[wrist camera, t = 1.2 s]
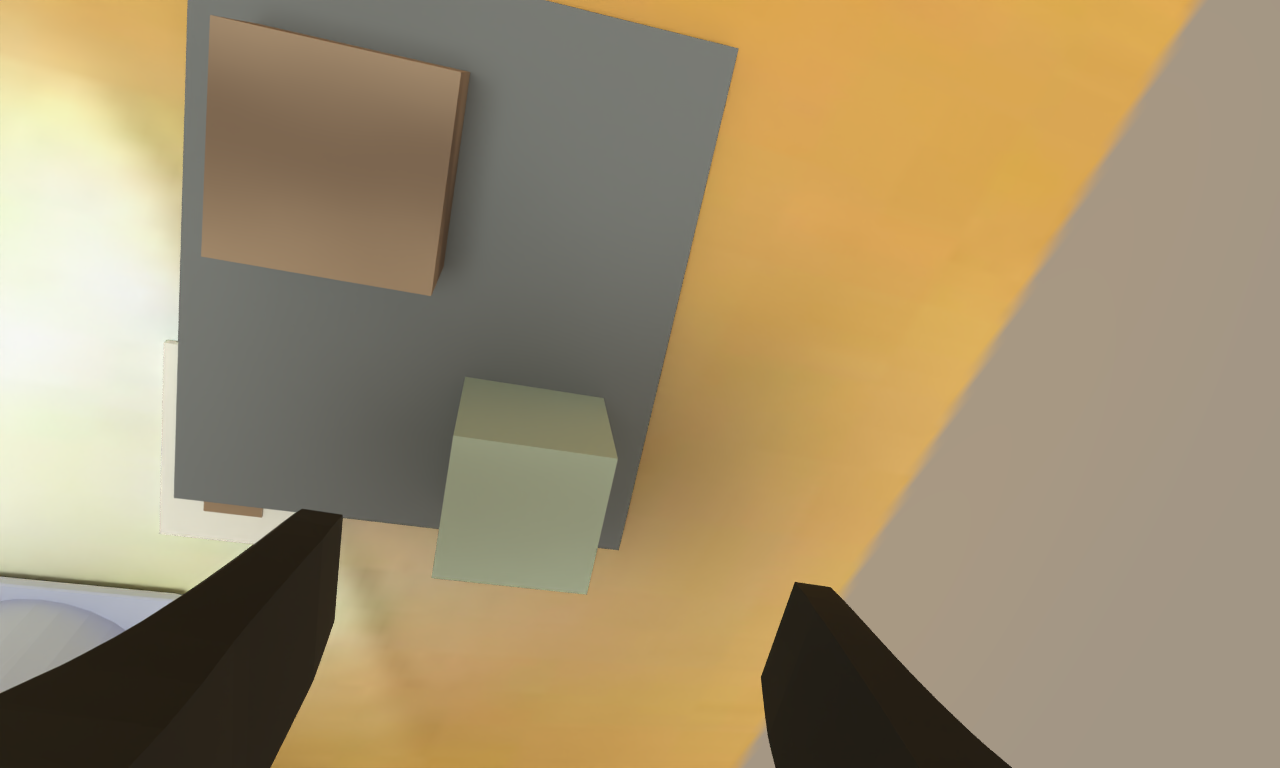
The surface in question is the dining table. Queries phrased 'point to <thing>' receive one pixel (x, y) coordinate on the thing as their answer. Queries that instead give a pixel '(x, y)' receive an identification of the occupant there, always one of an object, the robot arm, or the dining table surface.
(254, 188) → the walnut block
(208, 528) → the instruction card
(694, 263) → the dining table surface
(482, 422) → the sage block
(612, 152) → the slate mat
